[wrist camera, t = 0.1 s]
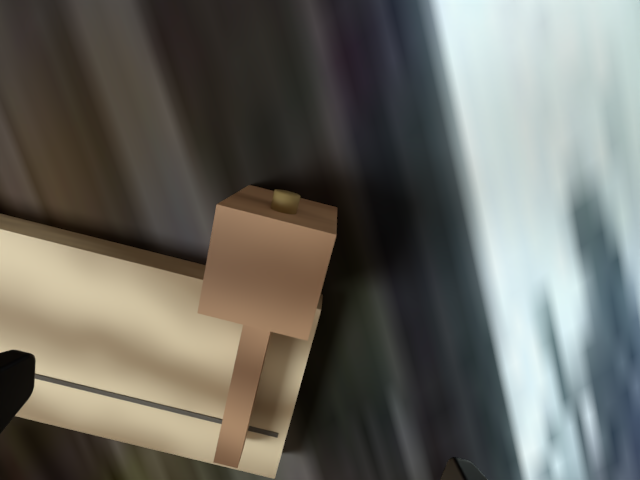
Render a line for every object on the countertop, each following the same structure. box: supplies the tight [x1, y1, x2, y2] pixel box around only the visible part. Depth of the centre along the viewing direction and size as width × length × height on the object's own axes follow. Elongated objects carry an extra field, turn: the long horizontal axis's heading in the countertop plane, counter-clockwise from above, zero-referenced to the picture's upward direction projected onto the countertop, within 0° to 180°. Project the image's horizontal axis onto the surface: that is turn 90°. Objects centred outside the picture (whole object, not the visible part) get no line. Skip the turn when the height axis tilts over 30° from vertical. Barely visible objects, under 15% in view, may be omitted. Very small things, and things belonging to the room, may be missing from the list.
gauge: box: [197, 185, 337, 468], centre depth 21 cm, size 16×5×6 cm, turn 166°
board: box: [0, 214, 323, 479], centre depth 23 cm, size 12×28×2 cm, turn 76°
